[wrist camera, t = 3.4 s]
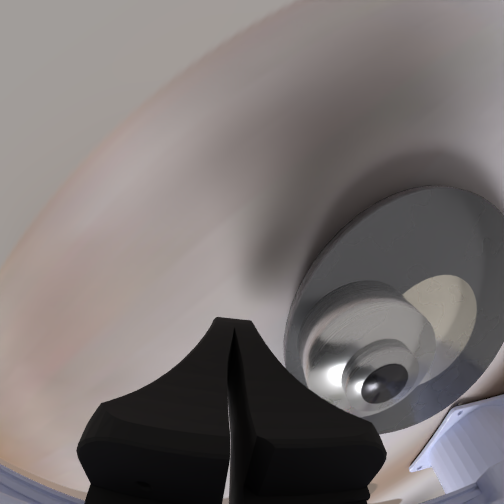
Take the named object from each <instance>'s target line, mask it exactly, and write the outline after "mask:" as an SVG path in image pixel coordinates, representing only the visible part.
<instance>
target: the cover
mask: <svg viewBox="0 0 504 504" xmlns="http://www.w3.org/2000/svg"><path fill="white" fill-rule="evenodd" d="M297 348H298V354H299V358H300V361H301V365H302V368H303V372H304V375H305V379H306V382H307V386H308V389H310V390H311V391H313V392H314V393H315V394H317V395H318V396H320V397H321V398H323V399H324V400H326V401H328V402H329V403H331V404H333V405H335V406H337V407H338V408H340V409H342V410H344V411H346V412H348V413H350V414H353V415H355V416H357V417H365V416H370V415H373V414H376V413H379V412H381V411H384V410H386V409H388V408H390V407H392V406H393V405H395V404H397V403H398V402H400V401H401V400H402V399H404V398H405V397H406V396H407V395H409V394H410V393H411V392H412V391H413V390H414V389H415V388H416V387H417V386H418V385H419V383H420V382H421V381H422V380H423V378H424V377H425V375H426V374H427V372H428V370H429V368H430V366H431V364H432V361H433V358H434V355H435V349H436V337H435V332H434V329H433V327H432V325H431V323H430V322H429V321H428V320H427V318H426V317H425V316H424V315H423V314H422V313H421V312H420V311H418V310H417V309H416V308H415V307H414V306H413V305H412V304H411V303H410V302H409V301H408V300H407V299H406V298H405V297H404V296H403V295H402V294H401V293H400V292H399V291H398V290H396V289H395V288H394V287H392V286H390V285H389V284H386V283H383V282H380V281H374V280H364V281H356V282H352V283H349V284H346V285H343V286H341V287H339V288H337V289H335V290H333V291H332V292H330V293H328V294H327V295H326V296H324V297H323V298H322V299H321V300H319V301H318V302H317V303H316V304H315V305H314V306H313V308H312V309H311V310H310V311H309V313H308V314H307V316H306V317H305V319H304V321H303V323H302V325H301V328H300V331H299V334H298V340H297Z"/></svg>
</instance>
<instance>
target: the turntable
mask: <svg viewBox="0 0 504 504" xmlns="http://www.w3.org/2000/svg"><path fill="white" fill-rule="evenodd" d="M364 280H374V281H380V282H383V283H386V284H389V285H390V286H392V287H394V288H395V289H396V290H398V291H399V292H400V293H401V294H402V295H403V296H404V297H405V298H406V299H407V300H408V301H409V302H410V303H411V304H412V305H413V306H414V307H415V308H416V309H417V310H418V311H420V312H421V313H422V314H423V315H424V316H425V317H426V318H427V320H428V321H429V322H430V323H431V325H432V327H433V329H434V332H435V337H436V349H435V355H434V358H433V361H432V364H431V366H430V368H429V370H428V372H427V374H426V375H425V377H424V378H423V380H422V381H421V382H420V383H419V385H418V386H417V387H416V388H415V389H414V390H413V391H412V392H411V393H410V394H409V395H407V396H406V397H405V398H404V399H402V400H401V401H400V402H398V403H397V404H395V405H393V406H392V407H390V408H388V409H386V410H384V411H381V412H379V413H376V414H373V415H370V416H365V417H360V418H362V419H365V420H367V421H369V422H372V423H373V425H374V427H375V428H376V430H377V432H378V434H384V433H389V432H394V431H398V430H401V429H405V428H407V427H410V426H413V425H415V424H418V423H420V422H422V421H424V420H426V419H428V418H430V417H432V416H433V415H435V414H437V413H438V412H440V411H442V410H443V409H445V408H446V407H448V406H449V405H450V404H452V403H453V402H454V401H456V400H457V399H458V398H459V397H460V396H461V395H463V394H464V393H465V392H466V391H467V390H468V389H469V388H470V387H471V386H472V385H473V384H474V383H475V382H476V381H477V380H478V379H479V377H480V376H481V375H482V374H483V373H484V372H485V370H486V369H487V368H488V366H489V365H490V363H491V362H492V361H493V359H494V358H495V356H496V354H497V353H498V351H499V349H500V348H501V346H502V344H503V342H504V216H503V215H502V214H501V212H500V211H499V210H498V209H497V208H496V207H495V206H494V205H493V204H491V203H490V202H489V201H487V200H486V199H485V198H483V197H481V196H479V195H477V194H474V193H472V192H469V191H465V190H461V189H457V188H452V187H448V186H424V187H417V188H412V189H409V190H405V191H402V192H399V193H396V194H394V195H391V196H389V197H387V198H385V199H383V200H381V201H379V202H377V203H375V204H374V205H372V206H371V207H369V208H368V209H366V210H365V211H363V212H362V213H360V214H359V215H358V216H356V217H355V218H354V219H353V220H352V221H351V222H349V223H348V224H347V225H346V226H345V227H343V228H342V229H341V230H340V231H339V232H338V233H337V235H336V236H335V237H334V238H333V239H332V240H331V241H330V242H329V243H328V244H327V245H326V246H325V248H324V249H323V250H322V252H321V253H320V254H319V256H318V257H317V258H316V260H315V261H314V262H313V264H312V265H311V267H310V268H309V270H308V272H307V274H306V275H305V277H304V279H303V281H302V282H301V284H300V286H299V288H298V291H297V293H296V295H295V298H294V300H293V302H292V305H291V308H290V312H289V315H288V319H287V322H286V328H285V335H284V361H285V366H286V369H287V370H288V371H289V372H290V373H291V374H292V375H293V376H294V377H295V378H296V379H297V380H298V381H300V382H301V383H302V384H303V385H305V386H306V387H307V388H308V386H307V382H306V379H305V375H304V372H303V368H302V365H301V361H300V358H299V354H298V348H297V340H298V334H299V331H300V328H301V325H302V323H303V321H304V319H305V317H306V316H307V314H308V313H309V311H310V310H311V309H312V308H313V306H314V305H315V304H316V303H317V302H318V301H319V300H321V299H322V298H323V297H324V296H326V295H327V294H328V293H330V292H332V291H333V290H335V289H337V288H339V287H341V286H343V285H346V284H349V283H352V282H356V281H364Z"/></svg>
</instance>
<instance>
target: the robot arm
mask: <svg viewBox="0 0 504 504" xmlns="http://www.w3.org/2000/svg"><path fill="white" fill-rule="evenodd" d="M228 407H229V416H228ZM229 420H230V429H229ZM230 432H231V458H230ZM76 451H77V455H78V459H79V461H80V463H81V465H82V467H83V469H84V471H85V473H86V475H87V477H88V479H89V481H90V483H91V485H90V488H89V491H88V494H87V497H86V500H85V501H84V500H81V499H78V498H75V497H72V496H69V495H67V494H64V493H62V492H59V491H56V490H54V489H52V488H49V487H47V486H45V485H42V484H40V483H38V482H35V481H33V480H31V479H29V478H27V477H25V476H23V475H21V474H19V473H16V472H15V471H13V470H11V469H9V468H7V467H5V466H3V465H1V464H0V504H222V500H223V494H224V489H225V483H226V478H227V472H228V466H229V461H230V489H229V504H367V501H366V500H369V498H370V493H369V490H368V487H367V485H368V484H369V483H370V482H371V481H372V479H373V478H374V477H375V476H376V474H377V473H378V472H379V470H380V469H381V468H382V466H383V464H384V462H385V460H386V455H387V452H386V450H385V448H384V445H383V443H382V440H381V438H380V436H379V434H378V432H377V430H376V428H375V427H374V425H373V423H372V422H369V421H367V420H365V419H362V418H360V417H357V416H355V415H353V414H350V413H348V412H346V411H344V410H342V409H340V408H338V407H337V406H335V405H333V404H331V403H329V402H328V401H326V400H324V399H323V398H321V397H320V396H318V395H317V394H315V393H314V392H313V391H311V390H310V389H308V388H307V387H306V386H305V385H303V384H302V383H301V382H300V381H298V380H297V379H296V378H295V377H294V376H293V375H292V374H291V373H290V372H289V371H288V370H287V369H286V368H285V367H284V366H283V365H282V364H281V363H280V362H279V361H278V359H277V358H276V357H275V356H274V354H273V353H272V352H271V350H270V349H269V348H268V346H267V345H266V344H265V342H264V341H263V339H262V337H261V336H260V334H259V333H258V331H257V329H256V328H255V326H254V324H253V323H252V321H250V320H240V319H231V318H222V317H216V318H215V319H214V320H213V323H212V325H211V326H210V328H209V330H208V331H207V333H206V334H205V335H204V337H203V338H202V339H201V340H200V342H199V343H198V344H197V345H196V347H195V348H194V349H193V350H192V351H191V352H190V353H189V354H188V355H187V356H186V357H185V358H184V359H183V360H182V361H181V362H180V363H178V364H177V365H176V366H175V367H174V368H172V369H171V370H170V371H169V372H167V373H166V374H164V375H163V376H161V377H160V378H159V379H157V380H155V381H154V382H152V383H150V384H149V385H147V386H145V387H143V388H141V389H139V390H137V391H134V392H132V393H130V394H127V395H125V396H122V397H119V398H116V399H113V400H110V401H107V402H104V403H101V404H100V406H99V407H98V408H97V410H96V411H95V413H94V414H93V416H92V417H91V419H90V420H89V422H88V424H87V426H86V428H85V430H84V432H83V434H82V437H81V439H80V441H79V443H78V447H77V450H76ZM429 467H432V468H433V470H434V472H435V474H436V476H437V478H438V480H439V481H440V483H441V485H442V487H443V489H444V491H445V493H446V494H445V495H443V496H440V497H437V498H434V499H432V500H429V501H426V502H423V503H419V504H504V394H503V395H499V396H496V397H492V398H488V399H485V400H481V401H477V402H473V403H469V404H464V405H460V406H456V407H454V408H452V409H451V410H450V411H449V413H448V415H447V416H446V418H445V419H444V421H443V422H442V424H441V425H440V427H439V428H438V430H437V431H436V432H435V434H434V435H433V437H432V438H431V440H430V441H429V442H428V444H427V445H426V446H425V448H424V449H423V450H422V452H421V453H420V454H419V456H418V457H417V458H416V460H415V461H414V462H413V463H412V465H411V466H410V467H409V471H410V472H415V471H418V470H422V469H426V468H429Z"/></svg>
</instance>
